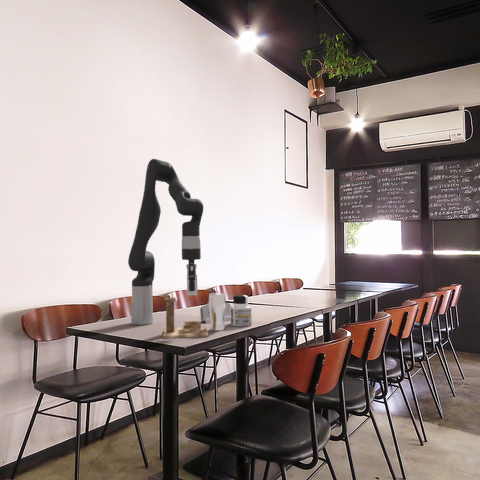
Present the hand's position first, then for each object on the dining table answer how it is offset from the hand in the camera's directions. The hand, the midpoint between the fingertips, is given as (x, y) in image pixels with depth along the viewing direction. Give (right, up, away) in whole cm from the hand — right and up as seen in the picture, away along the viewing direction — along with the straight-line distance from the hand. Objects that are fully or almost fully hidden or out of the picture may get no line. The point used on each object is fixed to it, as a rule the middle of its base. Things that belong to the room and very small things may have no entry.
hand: (191, 290), depth 166 cm
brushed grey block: (0, -2, 0) cm, 2 cm away
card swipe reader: (+9, -18, +29) cm, 35 cm away
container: (+20, -18, +18) cm, 32 cm away
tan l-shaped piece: (-2, -17, -1) cm, 17 cm away
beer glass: (+10, -17, +6) cm, 21 cm away
